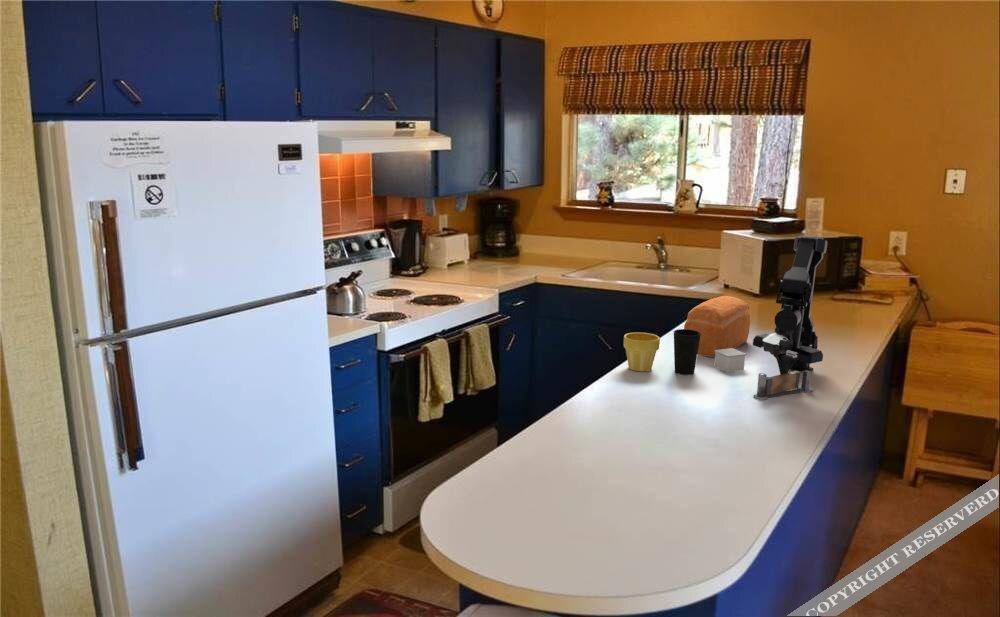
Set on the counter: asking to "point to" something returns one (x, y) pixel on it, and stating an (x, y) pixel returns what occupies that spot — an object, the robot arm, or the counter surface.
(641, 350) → the plant pot
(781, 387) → the gate
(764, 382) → the hinge post
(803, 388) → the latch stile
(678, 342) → the cup
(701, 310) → the bread
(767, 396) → the strip
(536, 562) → the counter surface
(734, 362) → the base block
